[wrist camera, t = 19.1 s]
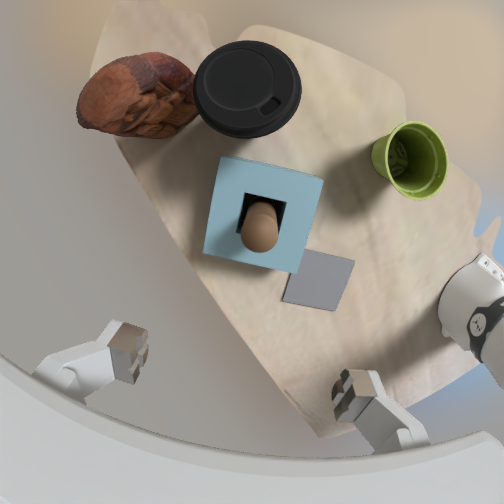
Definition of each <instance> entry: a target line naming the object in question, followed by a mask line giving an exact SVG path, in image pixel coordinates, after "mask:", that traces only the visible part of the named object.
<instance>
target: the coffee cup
mask: <svg viewBox="0 0 504 504" xmlns="http://www.w3.org/2000/svg"><path fill="white" fill-rule="evenodd" d="M301 93H302V86H301V80H300V76H299V73H298V71H297V69H296V67H295V65H294V63H293V62H292V61H291V59H290V58H289V57H288V56H287V55H286V54H285V53H283V52H282V51H281V50H279V49H278V48H276V47H274V46H272V45H270V44H267V43H264V42H259V41H250V40H247V41H237V42H232V43H229V44H226V45H224V46H222V47H220V48H218V49H216V50H215V51H213V52H212V53H211V54H209V55H208V56H207V57H206V58H205V59H204V61H203V62H202V63H201V65H200V66H199V68H198V70H197V72H196V74H195V77H194V81H193V99H194V103H195V106H196V108H197V110H198V112H199V114H200V116H201V117H202V119H203V120H204V121H205V122H206V123H207V124H208V125H209V126H210V127H212V128H213V129H215V130H216V131H218V132H220V133H222V134H224V135H227V136H230V137H234V138H242V139H250V138H258V137H262V136H266V135H268V134H271V133H273V132H275V131H277V130H278V129H280V128H281V127H282V126H284V125H285V124H286V123H287V122H288V121H289V120H290V119H291V118H292V116H293V115H294V113H295V112H296V110H297V108H298V106H299V103H300V99H301Z"/></svg>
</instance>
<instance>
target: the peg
mask: <svg viewBox="0 0 504 504" xmlns="http://www.w3.org/2000/svg"><path fill="white" fill-rule="evenodd" d="M241 240H242V242H243V244H244V246H245V247H246V248H247V249H249V250H250V251H252V252H255V253H264V252H267V251H269V250H271V249H272V248H273V247H274V246H275V245H276V243H277V241H278V226H277V218H276V209H275V204H274V202H273V201H272V200H271V199H270V198H268V197H263V196H258V197H255V198H254V199H253V200H252V201H251V203H250V205H249V208H248V211H247V214H246V217H245V221H244V224H243V227H242V230H241Z"/></svg>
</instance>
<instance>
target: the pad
mask: <svg viewBox="0 0 504 504" xmlns="http://www.w3.org/2000/svg"><path fill="white" fill-rule="evenodd" d="M354 264H355V261H354V260H349V259H345V258H341V257H337V256H333V255H329V254H325V253H320V252H316V251H312V250H308V249H304V252H303V255H302V259H301V262H300V265H299V268H298V271H297V274H294V273H291V275H290V278H289V281H288V284H287V287H286V291H285V294H284V297H283V301H285V302H290V303H295V304H300V305H305V306H310V307H316V308H321V309H326V310H332V311H336V309H337V306H338V304H339V302H340V299H341V297H342V294H343V292H344V289H345V287H346V284H347V282H348V279H349V277H350V274H351V272H352V269H353V266H354Z"/></svg>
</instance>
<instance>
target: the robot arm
mask: <svg viewBox="0 0 504 504" xmlns="http://www.w3.org/2000/svg"><path fill="white" fill-rule="evenodd" d="M438 317H439V320H440V322H441V324H442V335H443V336H444V337H452V338H453V339H454V340H455V342H456V343H457V344H458V345H459V346H460V347H461V348H462V349H463V350H464V351H466V350H467V351H469V350H471V351H472V353H473V354H474V356H475V358H476V359H478V360H479V362H480V363H484V364H485V366H486V367H487V369H488V370H489V371H490V373H491V374H492V376H493V377H494V379H495V380H496V382H497V383H498V385H499V386H500V387H501V388H502V389H504V272H503V271H502V270H501V269H500V268H499V267H498V266H497V265H496V264H495V263H494V262H493V261H492V260H491V259H490V258H489V257H487V256H486V255H485V254H484V253H481V254H480V255H479V256H478V257H477V258H476V259H475V260H474V261H473V262H472V263H470V264H469V265H467V266H465V267H463V268H462V269H460V270H459V271H458V272H457V273H456V274H455V275H454V276H453V277H452V278H451V280H450V281H449V283H448V284H447V286H446V287H445V289H444V291H443V293H442V295H441V298H440V301H439V306H438ZM147 338H148V331H147V330H146V329H143V328H140V327H137V326H135V325H131V324H129V323H126V322H122V321H120V320H117V319H112V320H111V321H110V323H109V324H108V325H107V326H106V328H105V329H104V330H103V331H102V333H101V334H100V335H99V337H98V338H97V339H96V340H95V341H92V340H91V341H88V342H86V343H83V344H80V345H77V346H74V347H72V348H69V349H66V350H63V351H60V352H57V353H55V354H52V355H49V356H46V357H45V359H44V360H43V361H42V362H41V363H40V365H39V366H38V367H37V368H36V370H35V371H34V372H33V373H32V375H30V374H29V373H28V372H26V371H24V370H23V369H22V368H20V367H18V366H17V365H16V364H14V363H13V362H12V361H10V360H9V359H7V358H6V357H5V356H3V355H2V354H1V353H0V504H504V448H503V446H502V444H501V443H500V442H499V441H498V440H497V439H496V438H494V437H493V436H492V435H490V434H489V433H487V432H485V431H482V430H481V431H477V432H474V433H471V434H468V435H465V436H462V437H458V438H455V439H452V440H448V441H444V442H441V443H437V444H433V445H431V444H430V441H429V439H428V436H427V434H426V431H425V428H424V426H423V425H422V424H421V423H420V422H419V421H418V420H416V419H415V418H414V417H413V416H412V415H411V414H409V413H408V412H407V411H406V410H405V409H403V408H402V407H401V406H400V405H399V404H398V403H396V402H395V401H394V400H393V399H392V398H391V397H387V395H386V392H385V390H384V387H383V385H382V382H381V380H380V377H379V375H378V372H377V371H375V370H355V369H344V370H343V371H342V373H341V374H340V376H341V379H340V380H338V381H336V383H335V384H334V386H333V389H332V402H333V403H334V404H335V405H336V407H335V409H334V413H335V418H336V422H354V425H355V426H356V427H357V428H358V429H359V431H360V432H361V433H362V435H363V436H364V437H365V438H366V440H367V441H368V442H369V443H370V445H371V446H372V447H373V448H374V450H375V451H374V452H373V453H372V454H371V455H365V456H353V457H331V458H330V457H329V458H307V457H306V458H305V457H283V456H270V455H260V454H252V453H244V452H237V451H231V450H225V449H219V448H214V447H208V446H204V445H200V444H195V443H191V442H187V441H183V440H179V439H175V438H172V437H168V436H165V435H161V434H158V433H155V432H152V431H149V430H146V429H143V428H140V427H137V426H134V425H131V424H129V423H126V422H123V421H121V420H118V419H116V418H113V417H111V416H109V415H106V414H104V413H101V412H99V411H97V410H95V409H93V408H90V407H88V406H87V404H86V402H85V399H84V397H86V396H88V395H90V394H91V393H93V392H95V391H97V390H98V389H100V388H101V387H103V386H105V385H107V384H108V383H110V382H112V381H113V380H115V379H119V380H122V381H124V382H127V383H130V384H133V385H134V384H135V382H136V380H137V378H138V376H139V374H140V372H139V368H140V367H142V366H144V364H145V362H146V358H147V355H148V344H147V343H146V340H147Z"/></svg>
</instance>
